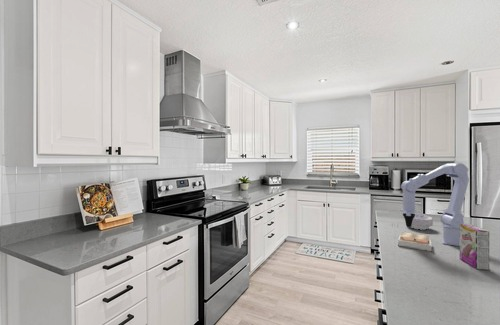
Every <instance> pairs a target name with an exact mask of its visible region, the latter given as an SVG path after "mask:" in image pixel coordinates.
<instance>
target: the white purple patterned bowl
mask: <svg viewBox="0 0 500 325" xmlns="http://www.w3.org/2000/svg"><path fill="white" fill-rule="evenodd" d="M405 224H406V222H405ZM433 224H434V222H433V217H431V216H428V215H424V214H423V215H422V214H415V217H414V218H413V221H412V226H411V227H410V228H411V229H413V228H414V229H413V230H418V229H420V230H421V231H427V230H429V228H430V227H433V226H434V225H433ZM426 229H427V230H426Z"/></svg>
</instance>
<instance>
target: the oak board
mask: <svg viewBox="0 0 500 325" xmlns="http://www.w3.org/2000/svg"><path fill="white" fill-rule="evenodd" d="M400 235H401V238H402V239H403V237H409V238H414V241H416V239H423V240H427V242H428V243H429V239H430V235H425V234H424V235H423V234H418V233H410V232H405V231H404V232H403V231H402V232H401V234H400Z"/></svg>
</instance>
